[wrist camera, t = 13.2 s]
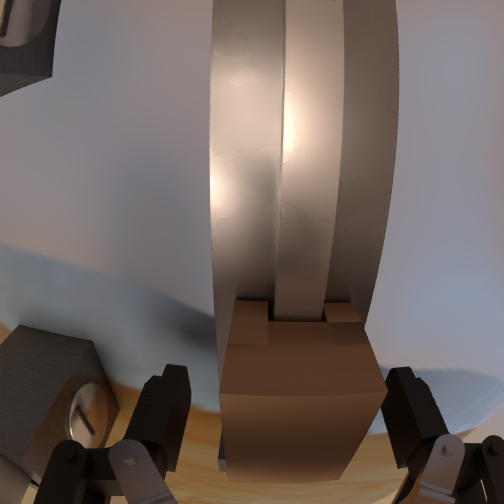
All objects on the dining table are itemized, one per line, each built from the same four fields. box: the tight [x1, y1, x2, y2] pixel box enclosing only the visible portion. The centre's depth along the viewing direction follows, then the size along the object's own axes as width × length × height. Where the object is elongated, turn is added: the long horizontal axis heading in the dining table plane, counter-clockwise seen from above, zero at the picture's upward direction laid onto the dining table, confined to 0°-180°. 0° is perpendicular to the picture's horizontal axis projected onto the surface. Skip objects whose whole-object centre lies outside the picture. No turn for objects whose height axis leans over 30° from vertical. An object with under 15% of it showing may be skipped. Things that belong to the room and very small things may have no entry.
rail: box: [210, 0, 399, 472], centre depth 9 cm, size 26×6×3 cm, turn 179°
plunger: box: [0, 454, 32, 504], centre depth 6 cm, size 4×4×4 cm
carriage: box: [219, 300, 388, 483], centre depth 10 cm, size 6×4×4 cm
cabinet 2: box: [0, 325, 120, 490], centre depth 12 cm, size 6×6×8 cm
